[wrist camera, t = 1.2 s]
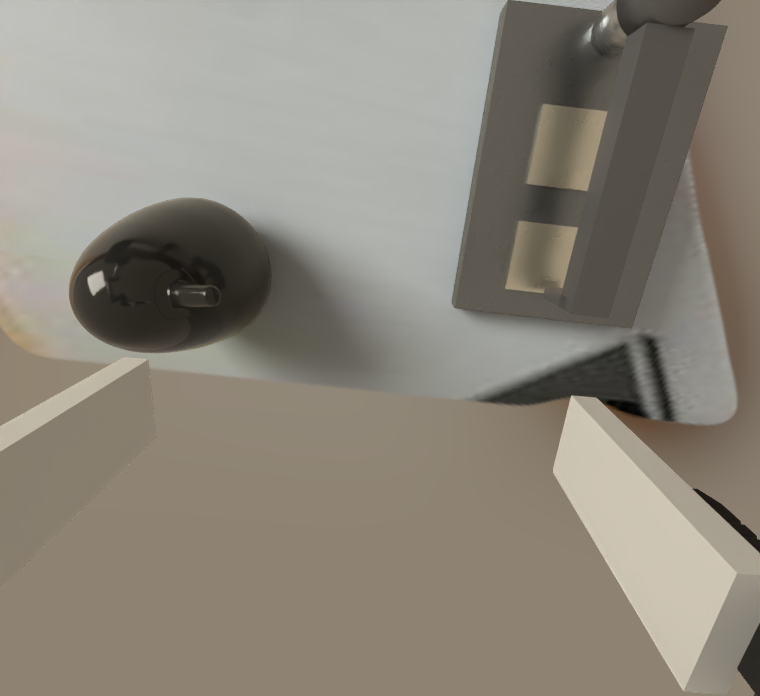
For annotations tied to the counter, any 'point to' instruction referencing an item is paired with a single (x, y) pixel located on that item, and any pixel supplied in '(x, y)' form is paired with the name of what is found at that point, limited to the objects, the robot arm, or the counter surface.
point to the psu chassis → (561, 158)
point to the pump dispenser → (171, 278)
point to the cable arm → (627, 149)
